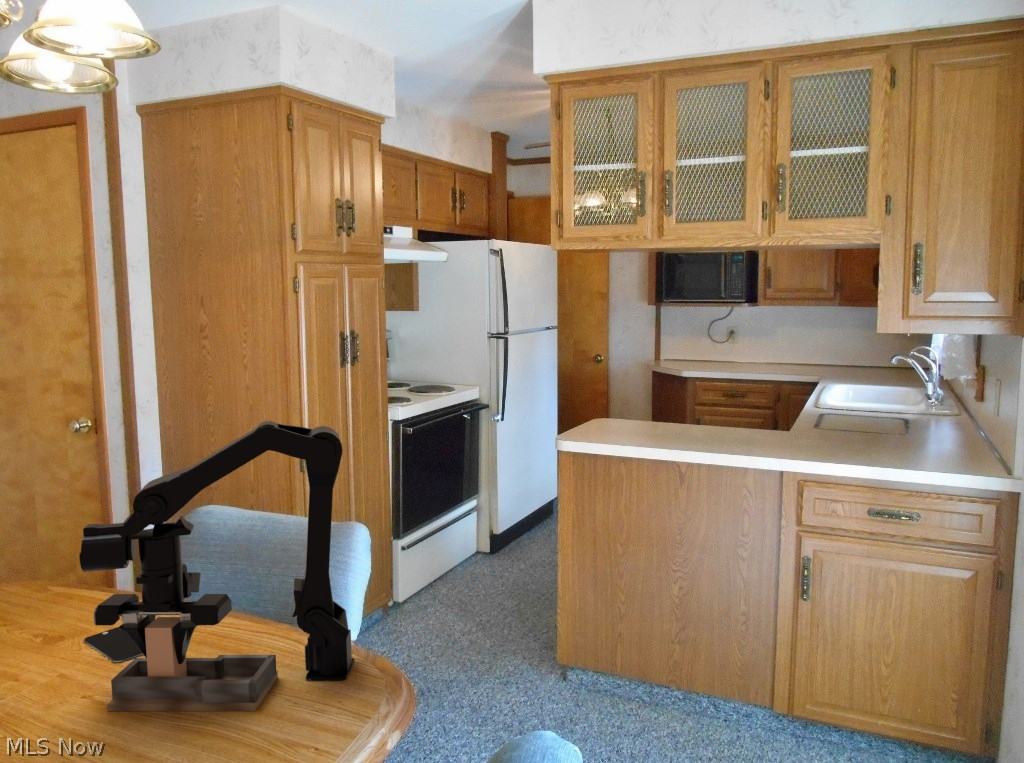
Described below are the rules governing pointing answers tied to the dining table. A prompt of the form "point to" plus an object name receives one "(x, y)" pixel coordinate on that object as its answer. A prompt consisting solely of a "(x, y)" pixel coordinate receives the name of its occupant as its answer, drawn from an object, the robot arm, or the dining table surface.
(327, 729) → the dining table surface
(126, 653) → the smartphone
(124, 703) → the keyhole board
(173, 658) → the peg
